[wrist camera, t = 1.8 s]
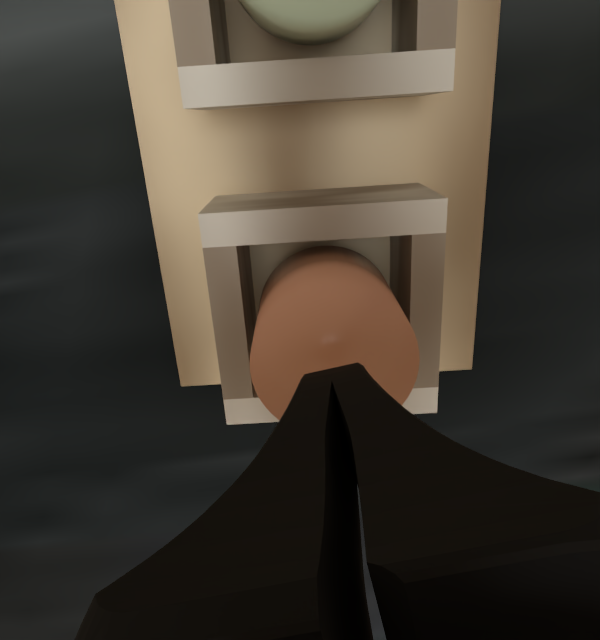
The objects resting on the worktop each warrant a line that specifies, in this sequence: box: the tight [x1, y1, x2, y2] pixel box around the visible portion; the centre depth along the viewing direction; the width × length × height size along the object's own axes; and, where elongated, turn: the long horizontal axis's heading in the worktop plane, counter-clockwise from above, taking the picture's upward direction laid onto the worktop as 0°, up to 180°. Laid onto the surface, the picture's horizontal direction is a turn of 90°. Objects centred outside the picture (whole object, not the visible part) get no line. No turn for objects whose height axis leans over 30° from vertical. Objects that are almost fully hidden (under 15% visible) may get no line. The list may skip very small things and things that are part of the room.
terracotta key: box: [250, 246, 420, 420], centre depth 15 cm, size 4×4×4 cm
